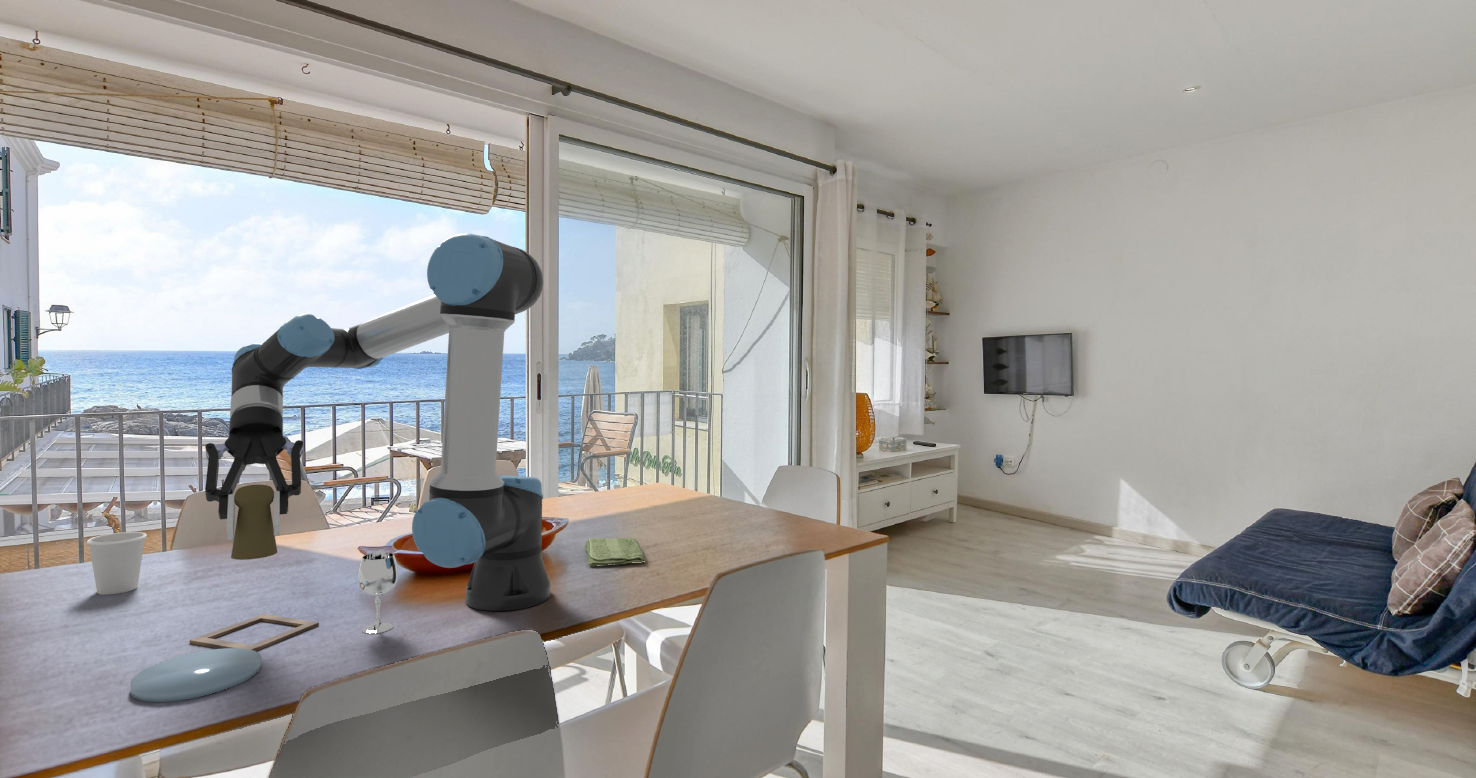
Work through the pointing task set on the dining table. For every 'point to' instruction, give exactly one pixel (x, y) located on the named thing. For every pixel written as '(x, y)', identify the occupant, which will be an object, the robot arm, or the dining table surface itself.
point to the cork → (254, 523)
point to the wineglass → (377, 583)
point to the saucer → (195, 675)
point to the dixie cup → (117, 561)
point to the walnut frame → (211, 642)
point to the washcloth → (613, 551)
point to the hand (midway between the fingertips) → (253, 532)
